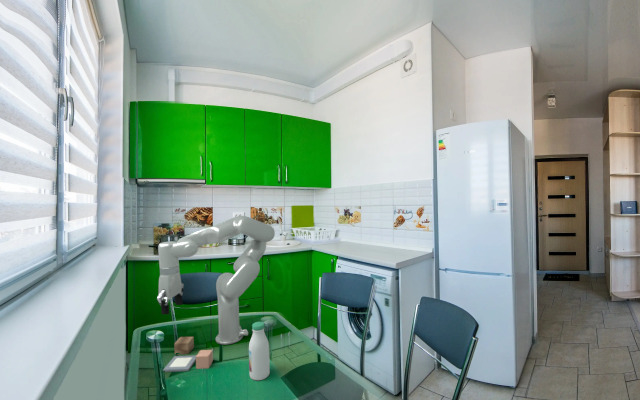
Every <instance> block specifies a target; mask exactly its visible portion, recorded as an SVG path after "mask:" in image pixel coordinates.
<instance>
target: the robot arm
mask: <svg viewBox="0 0 640 400" xmlns="http://www.w3.org/2000/svg"><path fill="white" fill-rule="evenodd" d="M241 234H242V235H244V236H247V237H250V238H251V240H250V243H249V245H248V246H247V248H246V249H245V250H244V251H243V252H242V253H241V254H240V255H239V257H237V259H236V260H235V261H234V263H233V271H234V272H235V273H231V272H223V273H221V274H220V275H219V276H218V277H217V280H216V282H215V288H216V289H215V290H216V296H217V312H218V313H217V315H218V319H217V320H218V334H217V335H216V337H215V342H216V343H217V344H219V345H225V346H226V345H233V344H236V343H237V342H239V341H241V340H242V339H243V337H244V336H249V331H248V330H247V329H246V328H245V329H242V326H241V325H240V311H239V310H240V307H239V305H240V302H239V298H240V297H241V296H242V295H243V294H244V293H245V291H247V289H249V287H250V285H252V283H253V282H254V281H255V280H256V278H258V275H259V273H260V271H261V270H260V269H261V268H260V264H259V261H260V259H261V258H262V257H263V255H264V254H265V252H266V249H267V243H268V242H271V241H272V240H273V239H274V238H275V234H276V231H275V228H273V226H271V225H270V224H267V223H265V222H263V221H259V220H257V219H256V218H255V219H254V218H252V217H249V216H244V215H237V216H234V217H232V218H230V219H227V220H225V221H222V222H221V223H218V224H215V225H213V226H209V227H207V228H204V229H200V230H198V231H195V232H192V233H190V234H187V235H185V236H183V237H181V238H179V239H178V240H177V241H174V240H173V241H172V240H171V241H162V242H159V244H158V247H157V250H158V264H159V278H158V295H157V298H156V300H157V302H158V304H159V305H160V308H161V309H160V310H161V311H160V313H161V315H170V304H169V301H170V300H171V299H172V298H174V303H175V305H176V306H182V305H183V294H184V293H183V292H184V285H185V284H184V283H182V278H181V273H180V263H179V262H180V261H179V260H180V259H179V258H190V257H193V256H195V255H196V254H197V253H198V251H199V248H201V247H203V246H207V245H210V244H211V245H212V244H214V245H215V244H220V243H223V242H225V241H227V240H229V239H231V238H234V237H236V236H238V235H241Z"/></svg>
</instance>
